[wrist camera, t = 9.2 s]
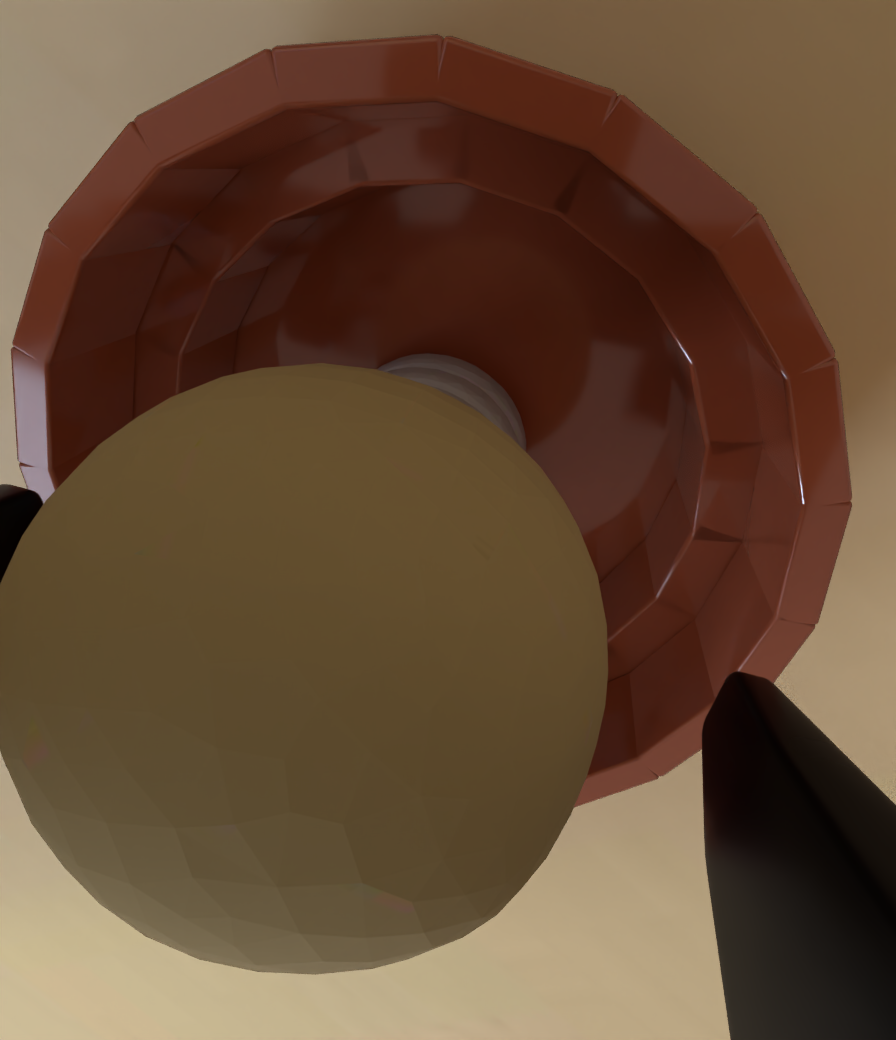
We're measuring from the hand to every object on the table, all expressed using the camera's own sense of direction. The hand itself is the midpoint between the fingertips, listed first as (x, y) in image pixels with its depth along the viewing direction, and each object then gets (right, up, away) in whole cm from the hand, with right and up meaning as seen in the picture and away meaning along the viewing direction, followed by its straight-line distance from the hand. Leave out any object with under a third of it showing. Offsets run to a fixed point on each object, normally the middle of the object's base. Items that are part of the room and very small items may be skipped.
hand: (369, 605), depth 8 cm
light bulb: (+1, +3, +5) cm, 6 cm away
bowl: (+1, +3, +6) cm, 7 cm away
